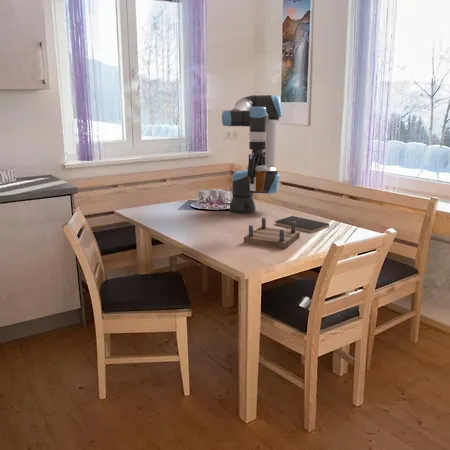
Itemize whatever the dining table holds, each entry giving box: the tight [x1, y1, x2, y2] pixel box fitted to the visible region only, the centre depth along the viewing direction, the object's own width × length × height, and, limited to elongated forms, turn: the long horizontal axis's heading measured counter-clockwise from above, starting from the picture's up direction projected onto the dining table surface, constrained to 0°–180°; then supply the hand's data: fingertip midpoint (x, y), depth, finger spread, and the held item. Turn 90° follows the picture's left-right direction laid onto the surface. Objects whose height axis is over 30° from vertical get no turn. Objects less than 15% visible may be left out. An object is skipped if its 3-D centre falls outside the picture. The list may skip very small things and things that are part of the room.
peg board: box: [243, 217, 301, 250], centre depth 231 cm, size 20×20×8 cm
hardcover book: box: [274, 215, 330, 234], centre depth 256 cm, size 16×23×2 cm
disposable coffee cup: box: [246, 165, 267, 192], centre depth 234 cm, size 10×10×12 cm
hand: (256, 189), depth 236 cm, fingers closed on disposable coffee cup, 8 cm apart
